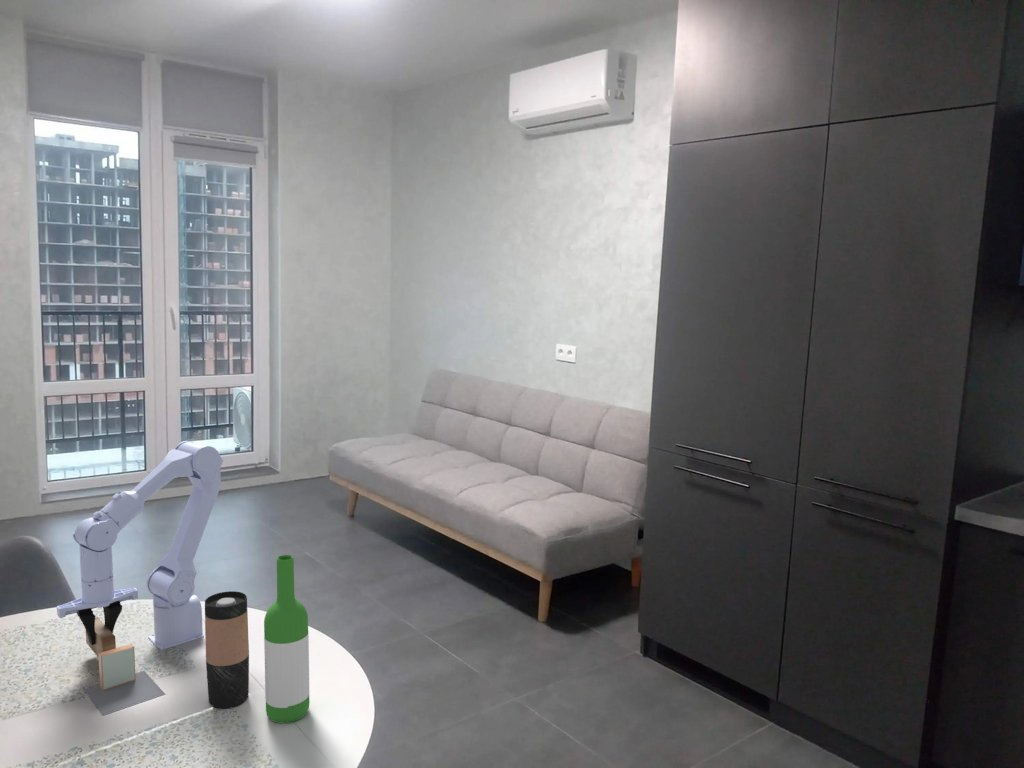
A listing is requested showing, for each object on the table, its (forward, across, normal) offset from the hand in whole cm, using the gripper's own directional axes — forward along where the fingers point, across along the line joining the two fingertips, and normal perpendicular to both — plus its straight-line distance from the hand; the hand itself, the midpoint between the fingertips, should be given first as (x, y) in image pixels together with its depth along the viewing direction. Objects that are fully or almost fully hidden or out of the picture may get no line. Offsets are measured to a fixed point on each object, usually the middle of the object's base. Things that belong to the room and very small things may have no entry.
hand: (100, 640), depth 155 cm
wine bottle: (+6, +20, -42) cm, 47 cm away
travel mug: (+6, +14, -30) cm, 33 cm away
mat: (+5, 0, -15) cm, 16 cm away
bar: (+2, 0, 0) cm, 2 cm away
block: (+5, 0, -11) cm, 12 cm away
